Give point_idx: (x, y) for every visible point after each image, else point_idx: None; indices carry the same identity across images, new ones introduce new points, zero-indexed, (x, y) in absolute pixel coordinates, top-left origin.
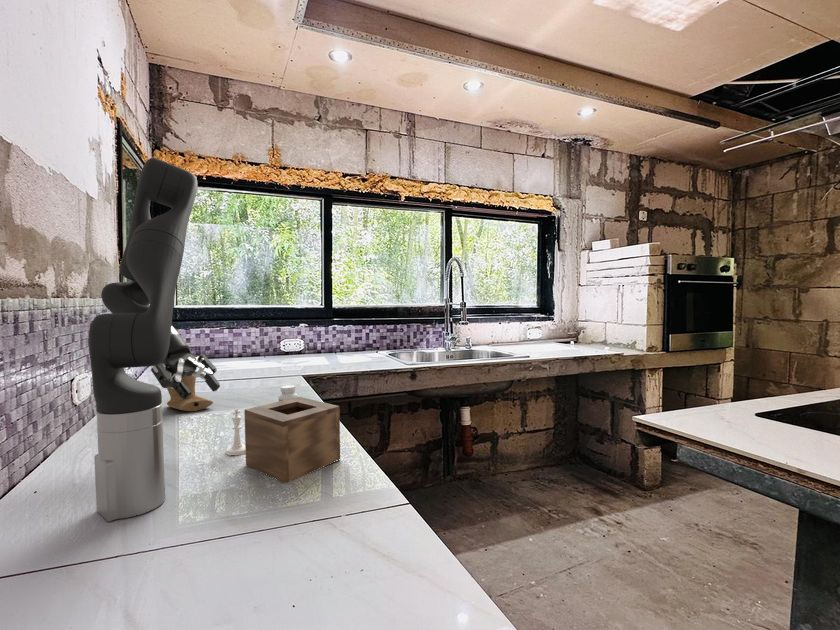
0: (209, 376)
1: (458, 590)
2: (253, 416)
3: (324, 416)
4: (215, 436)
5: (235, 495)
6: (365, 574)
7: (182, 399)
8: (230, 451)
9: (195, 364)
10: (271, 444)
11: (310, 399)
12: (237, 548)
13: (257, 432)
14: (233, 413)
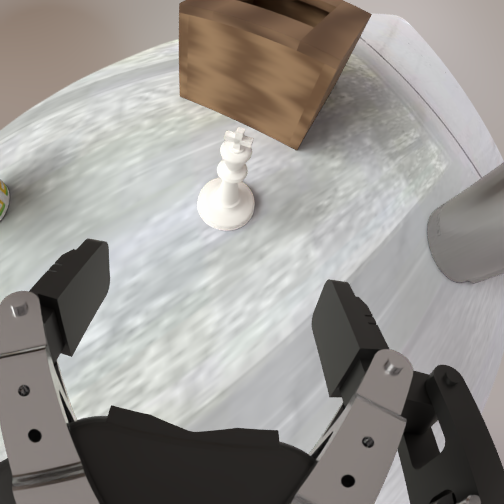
0: (62, 302)
1: (394, 18)
2: (348, 51)
3: None
4: (116, 341)
5: (386, 128)
6: (410, 43)
7: None
8: (253, 204)
9: (72, 436)
10: (346, 60)
11: None
12: (439, 103)
13: (339, 70)
14: (252, 142)
